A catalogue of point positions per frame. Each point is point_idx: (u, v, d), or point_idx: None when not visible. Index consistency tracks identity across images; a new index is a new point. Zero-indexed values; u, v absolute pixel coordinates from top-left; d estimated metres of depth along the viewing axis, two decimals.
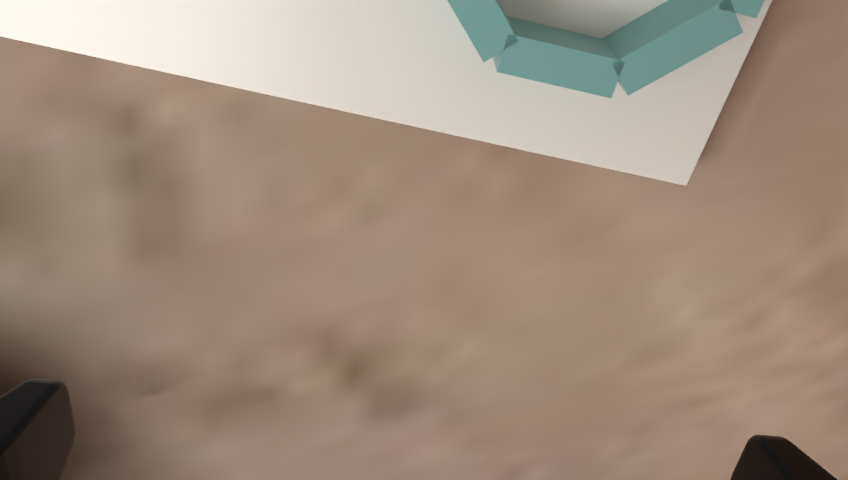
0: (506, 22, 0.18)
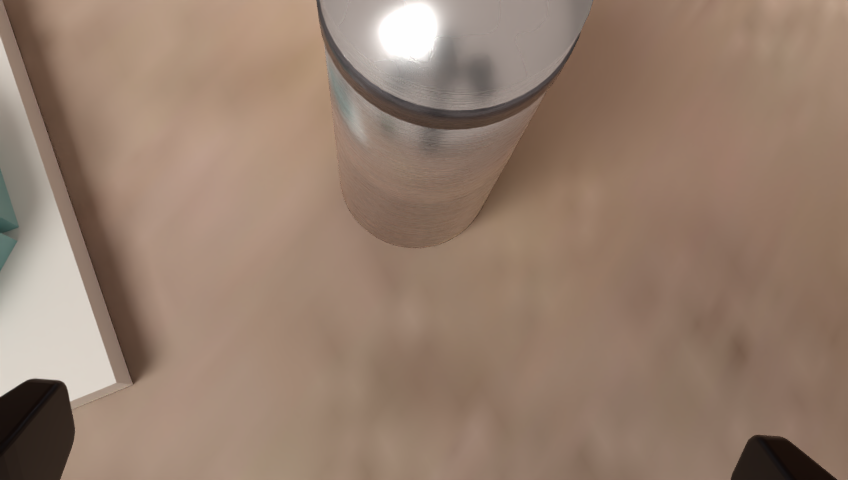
0: None
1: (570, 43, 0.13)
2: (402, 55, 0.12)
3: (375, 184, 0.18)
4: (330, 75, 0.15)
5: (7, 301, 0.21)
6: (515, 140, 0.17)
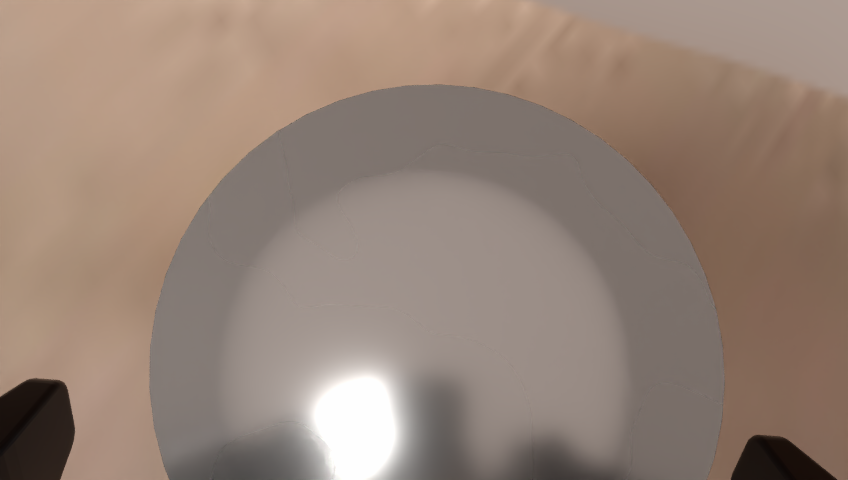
0: None
1: None
2: None
3: None
4: None
5: None
6: None
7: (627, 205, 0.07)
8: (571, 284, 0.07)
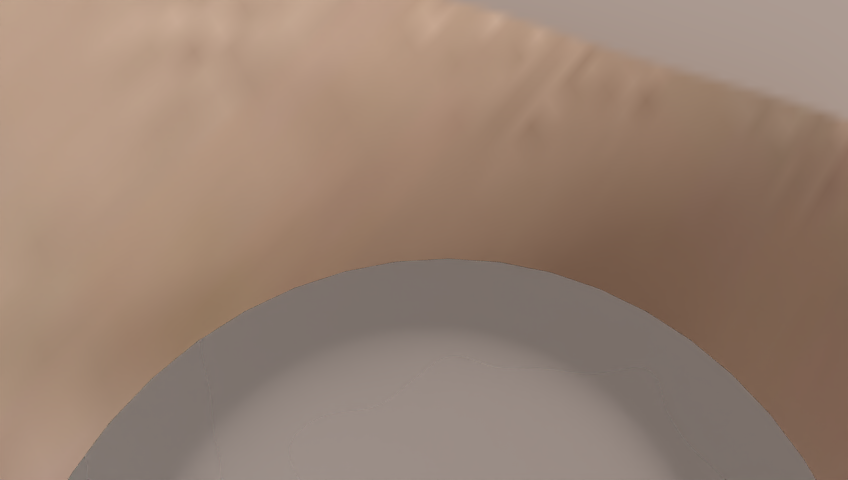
0: None
1: None
2: None
3: None
4: None
5: None
6: None
7: (735, 450, 0.04)
8: None
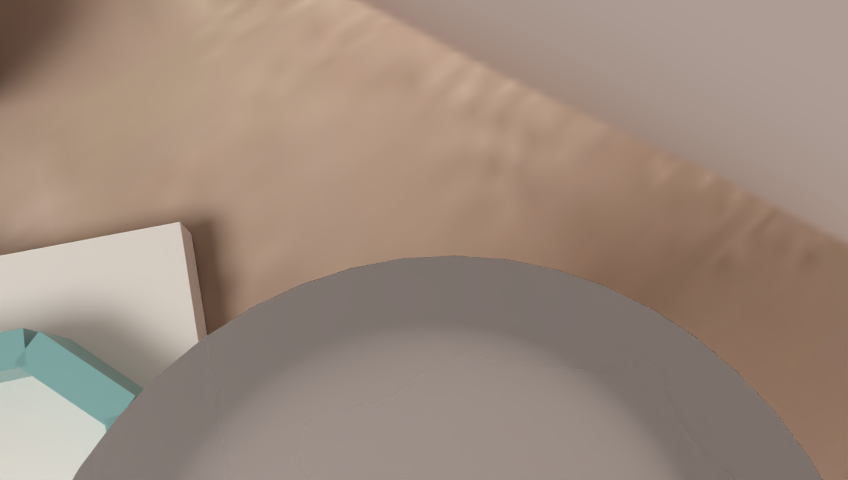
0: None
1: None
2: None
3: None
4: None
5: None
6: None
7: (740, 447, 0.04)
8: None
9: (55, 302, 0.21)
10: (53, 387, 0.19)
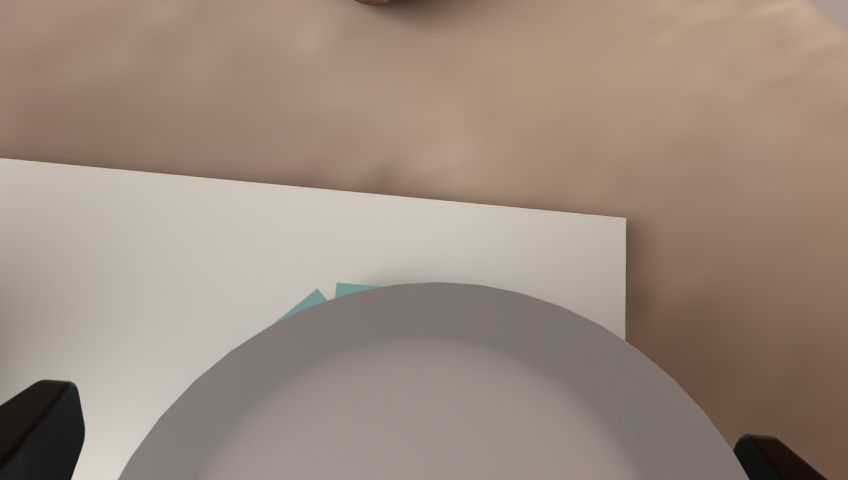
0: None
1: None
2: None
3: None
4: None
5: None
6: None
7: (674, 440, 0.05)
8: None
9: (474, 270, 0.18)
10: None
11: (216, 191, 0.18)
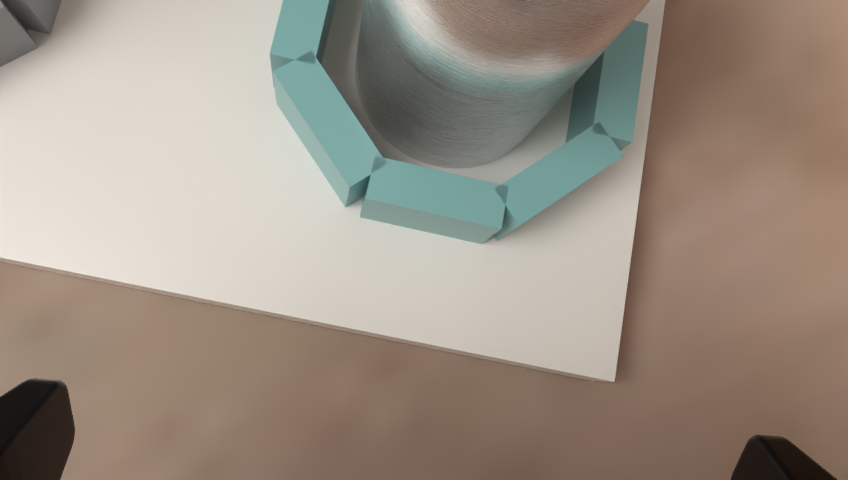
0: (371, 143, 0.16)
1: None
2: None
3: (423, 51, 0.13)
4: None
5: (553, 232, 0.18)
6: None
7: None
8: None
9: None
10: None
11: None
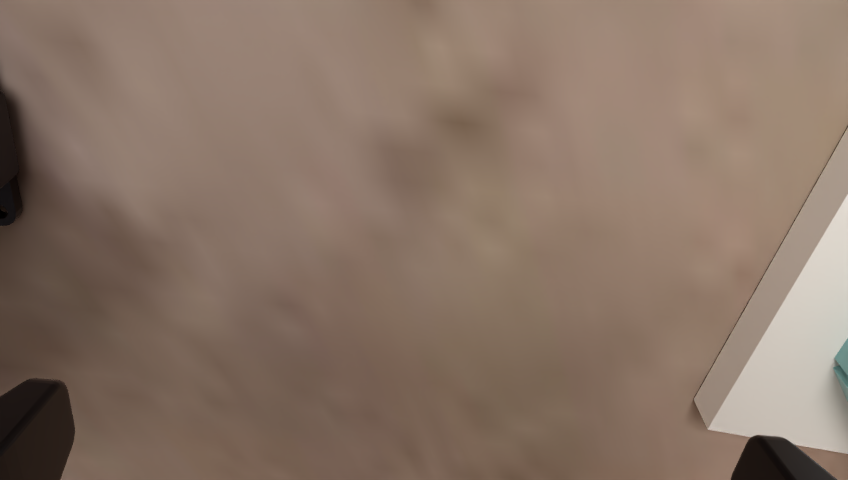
0: None
1: None
2: None
3: None
4: None
5: (826, 401, 0.25)
6: None
7: None
8: None
9: None
10: None
11: None
